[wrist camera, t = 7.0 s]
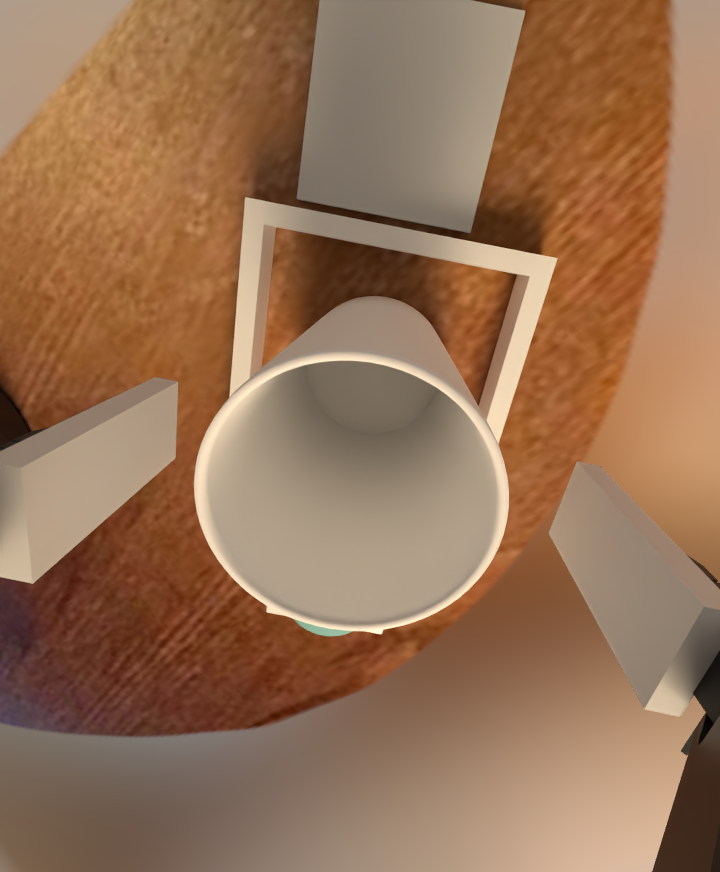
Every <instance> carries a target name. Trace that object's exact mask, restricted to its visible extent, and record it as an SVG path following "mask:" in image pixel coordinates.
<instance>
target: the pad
mask: <svg viewBox="0 0 720 872" xmlns="http://www.w3.org/2000/svg"><path fill="white" fill-rule="evenodd" d="M524 15H525V11H523V10H518V9H513V8H508V7H503V6H498V5H493V4H488V3H483V2H478V1H473V0H320V1H319V10H318V19H317V27H316V36H315V44H314V53H313V62H312V70H311V79H310V88H309V96H308V105H307V113H306V122H305V131H304V139H303V148H302V156H301V165H300V174H299V182H298V191H297V199H298V200H302V201H307V202H312V203H317V204H322V205H327V206H332V207H337V208H343V209H348V210H353V211H358V212H363V213H368V214H373V215H378V216H383V217H389V218H394V219H399V220H404V221H409V222H414V223H419V224H424V225H429V226H434V227H440V228H445V229H450V230H455V231H460V232H465V233H471V229H472V225H473V221H474V217H475V213H476V209H477V205H478V201H479V197H480V193H481V189H482V184H483V180H484V176H485V172H486V168H487V164H488V160H489V156H490V152H491V148H492V144H493V140H494V136H495V132H496V128H497V124H498V120H499V116H500V112H501V108H502V104H503V100H504V96H505V92H506V88H507V84H508V80H509V76H510V72H511V68H512V64H513V60H514V56H515V52H516V47H517V43H518V39H519V35H520V31H521V27H522V23H523V19H524Z"/></svg>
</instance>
